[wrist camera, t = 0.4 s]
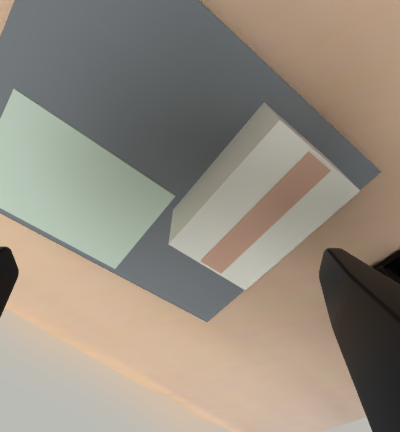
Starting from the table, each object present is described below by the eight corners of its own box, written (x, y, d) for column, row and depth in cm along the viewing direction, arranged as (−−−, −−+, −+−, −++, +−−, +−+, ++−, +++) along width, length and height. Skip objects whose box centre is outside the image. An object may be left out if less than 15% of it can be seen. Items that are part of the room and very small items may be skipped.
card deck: (332, 162, 20) (361, 191, 16) (238, 251, 24) (245, 291, 20) (264, 101, 18) (280, 120, 14) (172, 209, 22) (168, 245, 18)
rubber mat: (377, 169, 21) (381, 172, 20) (206, 318, 28) (207, 323, 27) (67, -123, 13) (63, -128, 13) (-53, 180, 21) (-58, 183, 20)
